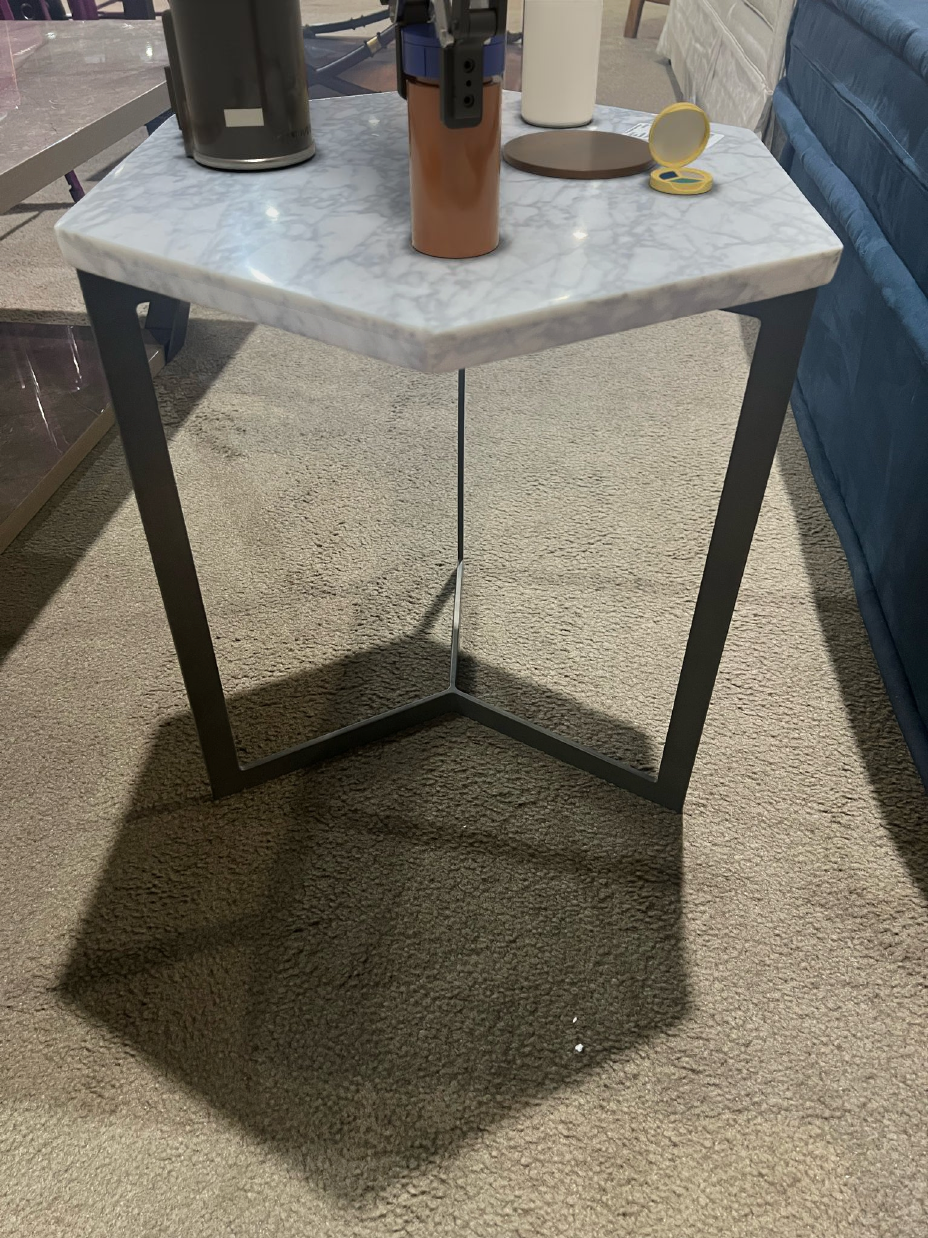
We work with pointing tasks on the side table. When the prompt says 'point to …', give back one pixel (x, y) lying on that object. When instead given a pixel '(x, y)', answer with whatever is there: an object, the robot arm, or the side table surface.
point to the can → (560, 61)
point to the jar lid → (424, 52)
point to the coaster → (579, 154)
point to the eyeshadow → (679, 149)
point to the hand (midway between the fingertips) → (438, 110)
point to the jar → (453, 173)
